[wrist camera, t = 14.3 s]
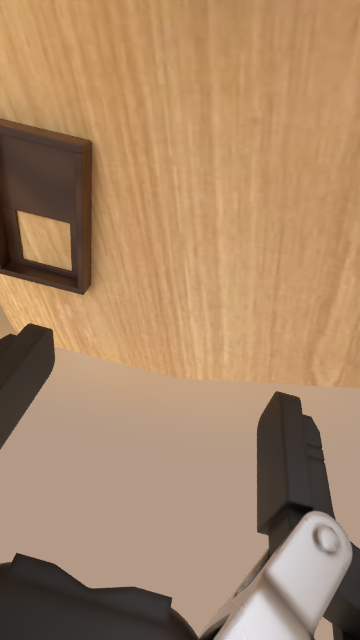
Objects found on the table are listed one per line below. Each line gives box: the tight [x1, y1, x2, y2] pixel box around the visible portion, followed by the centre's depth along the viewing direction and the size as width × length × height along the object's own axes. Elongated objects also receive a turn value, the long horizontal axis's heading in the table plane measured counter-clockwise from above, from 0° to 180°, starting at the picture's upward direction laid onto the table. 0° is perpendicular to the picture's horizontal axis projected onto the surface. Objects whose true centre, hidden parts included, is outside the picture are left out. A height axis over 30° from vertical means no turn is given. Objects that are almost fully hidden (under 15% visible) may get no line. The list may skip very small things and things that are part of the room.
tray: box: [0, 119, 91, 295], centre depth 39 cm, size 18×12×2 cm, turn 170°
